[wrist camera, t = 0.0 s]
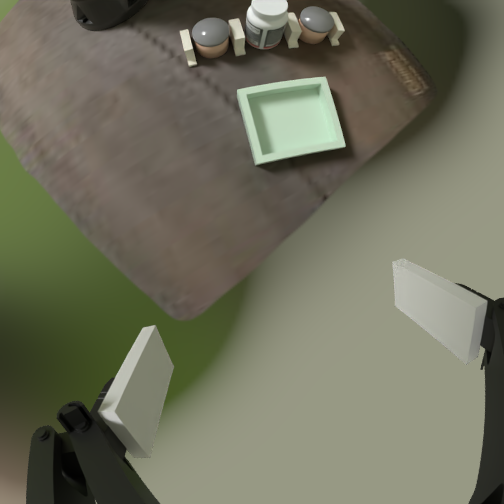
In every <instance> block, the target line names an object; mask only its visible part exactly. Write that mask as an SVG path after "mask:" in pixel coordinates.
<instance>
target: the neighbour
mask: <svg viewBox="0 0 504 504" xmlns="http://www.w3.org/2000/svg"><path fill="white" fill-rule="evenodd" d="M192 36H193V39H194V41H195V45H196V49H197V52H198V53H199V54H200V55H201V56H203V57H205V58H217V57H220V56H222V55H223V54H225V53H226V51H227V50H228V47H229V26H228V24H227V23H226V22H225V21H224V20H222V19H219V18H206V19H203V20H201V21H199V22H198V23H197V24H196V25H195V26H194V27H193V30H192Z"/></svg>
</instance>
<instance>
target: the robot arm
mask: <svg viewBox="0 0 504 504" xmlns="http://www.w3.org/2000/svg"><path fill="white" fill-rule="evenodd" d="M70 1H71V5H72V9H73V14H74V17H75V19H76V21H77V22H78V23H79V24H80V25H81V26H82V27H83V28H85V29H87V30H103V29H107V28H110V27H113V26H115V25H117V24H119V23H121V22H123V21H125V20H127V19H128V18H130V17H131V16H133V15H134V14H135V13H136V12H138V11H139V10H140V9H141V8H142V7H143V6H144V5H145V4H146V2H147V1H148V0H70ZM393 274H394V291H395V306H396V307H397V308H398V309H399V310H401V311H402V312H403V313H405V314H406V315H407V316H408V317H410V318H411V319H412V320H413V321H415V322H416V323H417V324H418V325H419V326H421V327H422V328H423V329H424V330H426V331H427V332H428V333H429V334H431V335H432V336H433V337H434V338H435V339H436V340H438V341H439V342H440V343H441V344H443V345H444V346H445V347H446V348H447V349H449V350H450V351H451V352H452V353H453V354H454V355H456V356H457V357H458V358H459V359H460V360H461V361H462V362H464V363H465V364H466V365H467V364H468V363H470V362H471V361H473V360H474V359H476V358H477V357H478V353H479V349H480V345H481V346H482V347H483V348H485V353H484V357H483V361H482V365H481V370H482V369H483V366H485V424H484V437H483V447H482V454H481V461H480V468H479V474H478V480H477V484H476V488H475V491H474V493H473V495H472V497H471V499H470V501H469V504H504V298H499V299H497V300H495V301H494V300H492V299H490V298H488V297H486V296H484V295H482V294H481V293H478V292H476V291H475V290H473V289H472V290H471V288H469V287H467V286H465V285H462V284H457V283H453V282H451V281H449V280H447V279H445V278H443V277H441V276H439V275H437V274H435V273H433V272H431V271H429V270H427V269H424V268H422V267H420V266H418V265H416V264H414V263H412V262H410V261H408V260H406V259H400V260H397V261H394V262H393ZM173 368H174V366H173V364H172V362H171V360H170V358H169V355H168V353H167V351H166V348H165V346H164V344H163V342H162V339H161V337H160V335H159V333H158V330H157V328H156V325H155V326H150V327H145V328H143V329H142V330H141V332H140V334H139V336H138V338H137V339H136V341H135V343H134V345H133V346H132V348H131V350H130V352H129V354H128V355H127V357H126V359H125V361H124V363H123V365H122V366H121V368H120V370H119V372H118V374H117V376H116V377H115V378H111V379H110V380H109V381H108V382H107V383H106V384H105V386H104V388H103V389H102V391H101V393H100V395H99V396H98V399H97V400H96V402H95V404H94V406H93V408H92V410H91V411H90V413H89V411H88V410H87V408H86V407H85V406H84V404H83V403H82V402H80V401H72V402H70V403H67V404H66V405H64V406H63V407H62V408H61V409H60V410H59V411H58V413H57V419H58V420H59V422H60V423H61V424H62V426H63V427H64V428H65V430H66V431H67V432H64V433H59V434H58V433H57V432H56V431H55V430H54V428H52V427H51V426H43V427H40V428H38V429H37V430H36V431H35V433H34V434H33V436H32V440H31V446H30V454H29V463H28V475H27V491H26V492H27V493H26V504H96V502H97V504H160V503H159V502H158V500H157V499H156V498H155V497H154V495H153V494H152V493H151V492H150V490H149V489H148V488H147V486H146V485H145V484H144V482H143V481H142V480H141V478H140V477H139V475H138V474H137V473H136V471H135V470H134V468H133V467H132V465H131V464H130V463H129V461H128V460H127V459H126V458H125V453H126V450H128V452H129V453H130V454H131V455H132V456H133V457H134V458H150V457H151V452H152V448H153V444H154V440H155V436H156V432H157V428H158V424H159V420H160V416H161V412H162V408H163V404H164V401H165V397H166V393H167V389H168V386H169V382H170V378H171V375H172V371H173ZM95 500H96V502H95Z"/></svg>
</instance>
